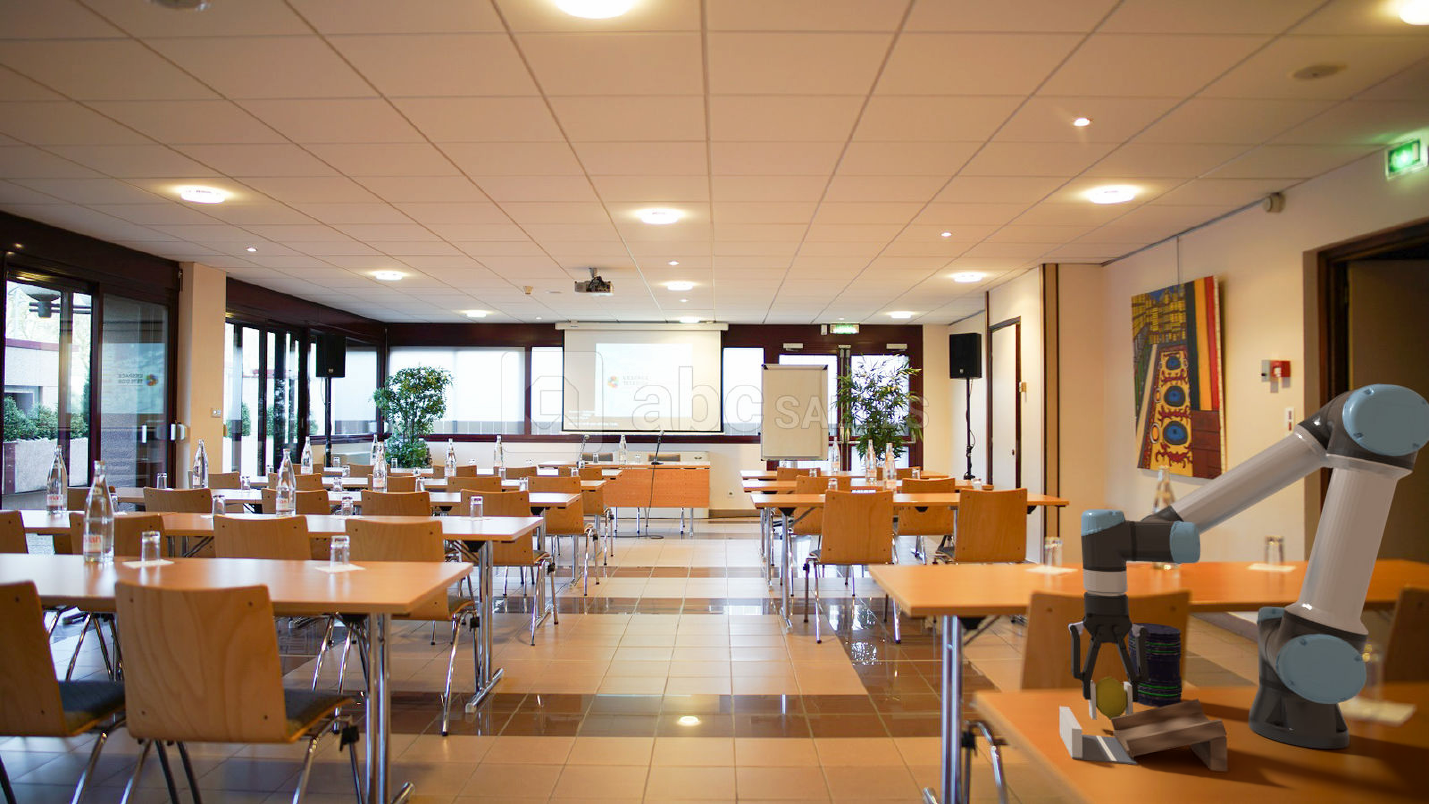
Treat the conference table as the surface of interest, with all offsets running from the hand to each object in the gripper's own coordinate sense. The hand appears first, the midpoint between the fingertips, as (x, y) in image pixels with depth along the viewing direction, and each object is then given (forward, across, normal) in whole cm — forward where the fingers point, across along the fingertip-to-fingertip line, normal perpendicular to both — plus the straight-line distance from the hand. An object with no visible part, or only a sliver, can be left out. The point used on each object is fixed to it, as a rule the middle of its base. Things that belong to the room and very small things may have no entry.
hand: (1111, 718), depth 151 cm
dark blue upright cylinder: (+3, -13, -22) cm, 26 cm away
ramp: (+3, -6, +11) cm, 13 cm away
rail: (+2, +9, +11) cm, 14 cm away
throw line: (+2, +3, +11) cm, 12 cm away
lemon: (+1, 0, 0) cm, 1 cm away
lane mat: (+2, +5, +11) cm, 12 cm away
